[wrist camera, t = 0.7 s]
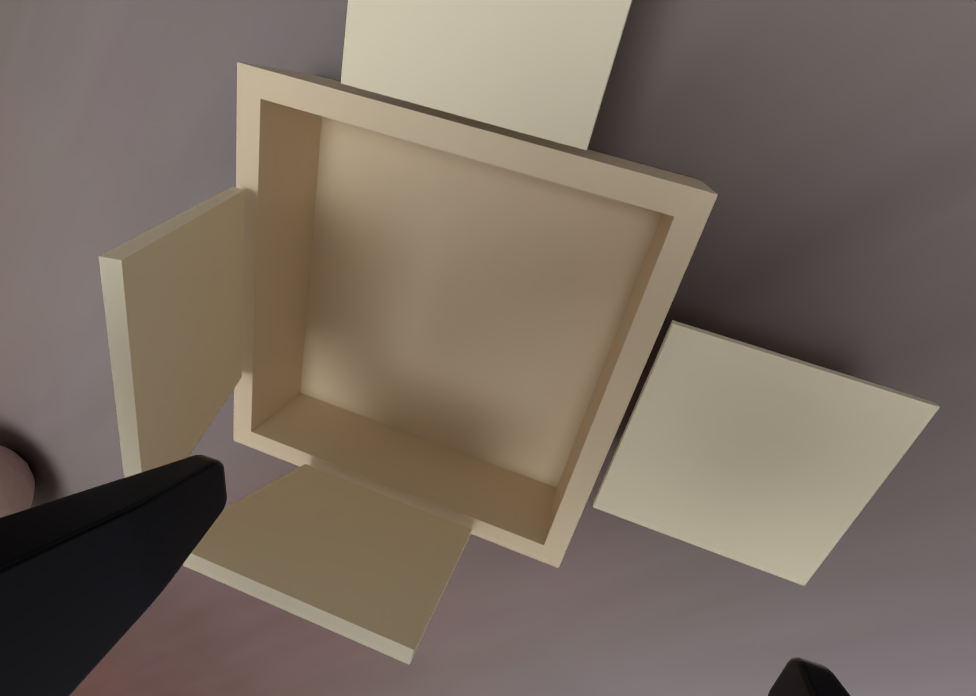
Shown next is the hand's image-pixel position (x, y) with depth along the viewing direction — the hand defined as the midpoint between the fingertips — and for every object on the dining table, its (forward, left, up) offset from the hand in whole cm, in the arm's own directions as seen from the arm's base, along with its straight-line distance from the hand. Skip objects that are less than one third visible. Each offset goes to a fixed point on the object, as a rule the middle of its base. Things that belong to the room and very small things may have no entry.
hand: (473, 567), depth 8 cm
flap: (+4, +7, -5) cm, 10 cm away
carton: (+1, -2, -13) cm, 13 cm away
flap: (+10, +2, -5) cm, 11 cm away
